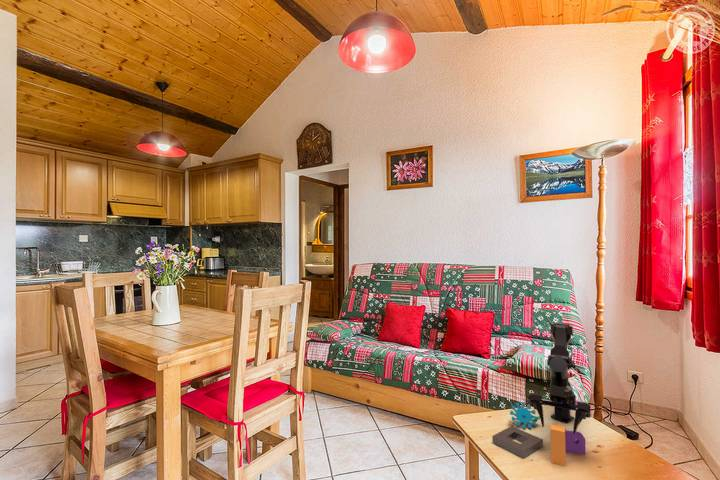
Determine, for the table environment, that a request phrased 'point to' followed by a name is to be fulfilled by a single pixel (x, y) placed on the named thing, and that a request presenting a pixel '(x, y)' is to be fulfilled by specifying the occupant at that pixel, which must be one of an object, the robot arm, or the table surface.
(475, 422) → the table surface
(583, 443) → the bracket
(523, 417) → the gear
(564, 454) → the tall orange pillar
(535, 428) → the table surface
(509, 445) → the slotted square tile
